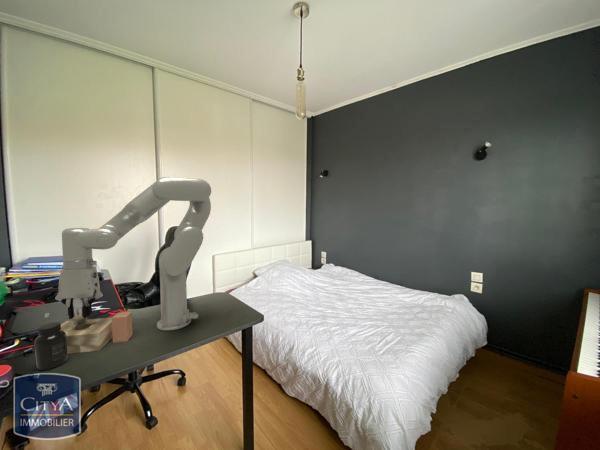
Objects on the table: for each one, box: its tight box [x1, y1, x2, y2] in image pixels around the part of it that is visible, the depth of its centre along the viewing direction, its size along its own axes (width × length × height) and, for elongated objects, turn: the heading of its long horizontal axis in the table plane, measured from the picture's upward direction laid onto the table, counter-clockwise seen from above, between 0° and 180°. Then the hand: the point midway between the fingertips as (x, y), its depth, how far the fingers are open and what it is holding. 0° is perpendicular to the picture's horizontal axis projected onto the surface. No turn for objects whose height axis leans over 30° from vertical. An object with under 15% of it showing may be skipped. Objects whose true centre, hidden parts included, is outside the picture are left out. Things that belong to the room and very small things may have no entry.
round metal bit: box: [72, 298, 88, 325], centre depth 87 cm, size 4×4×10 cm
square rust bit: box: [111, 311, 134, 344], centre depth 91 cm, size 4×4×9 cm
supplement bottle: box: [33, 322, 69, 371], centre depth 76 cm, size 7×7×12 cm
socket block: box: [60, 317, 113, 355], centre depth 88 cm, size 16×12×6 cm
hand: (80, 316), depth 87 cm, fingers closed on round metal bit, 3 cm apart
